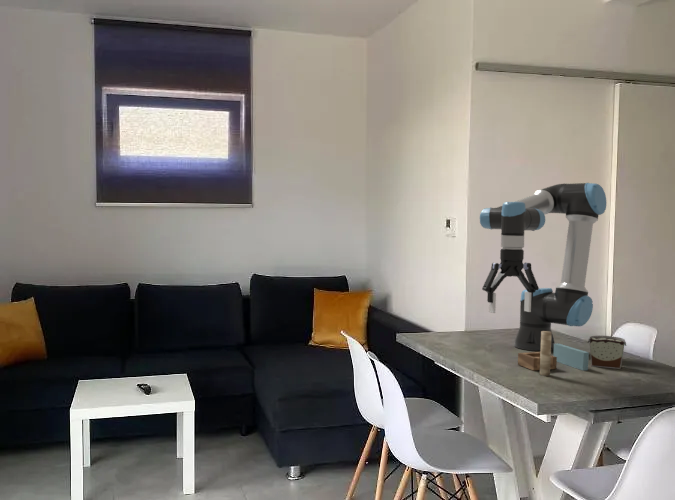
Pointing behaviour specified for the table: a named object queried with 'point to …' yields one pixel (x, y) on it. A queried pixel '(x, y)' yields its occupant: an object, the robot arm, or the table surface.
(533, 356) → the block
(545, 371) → the dowel
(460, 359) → the table surface
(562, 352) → the wall
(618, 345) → the food container
